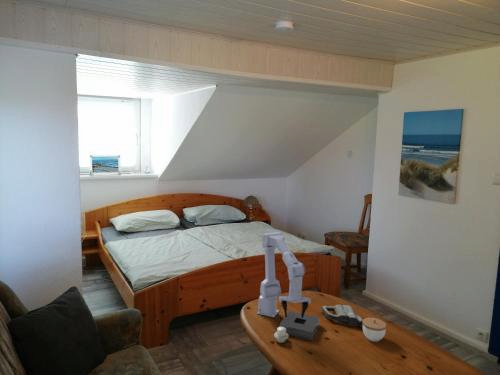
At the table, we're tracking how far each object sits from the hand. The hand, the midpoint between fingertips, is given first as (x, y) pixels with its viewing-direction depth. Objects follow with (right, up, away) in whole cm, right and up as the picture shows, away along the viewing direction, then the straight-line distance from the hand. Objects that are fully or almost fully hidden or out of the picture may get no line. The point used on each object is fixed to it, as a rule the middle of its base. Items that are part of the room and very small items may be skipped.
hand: (294, 316), depth 178 cm
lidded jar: (+38, -11, +2) cm, 39 cm away
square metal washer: (+4, -9, +8) cm, 12 cm away
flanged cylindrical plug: (-6, -10, -3) cm, 12 cm away
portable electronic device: (+27, -8, +20) cm, 35 cm away
